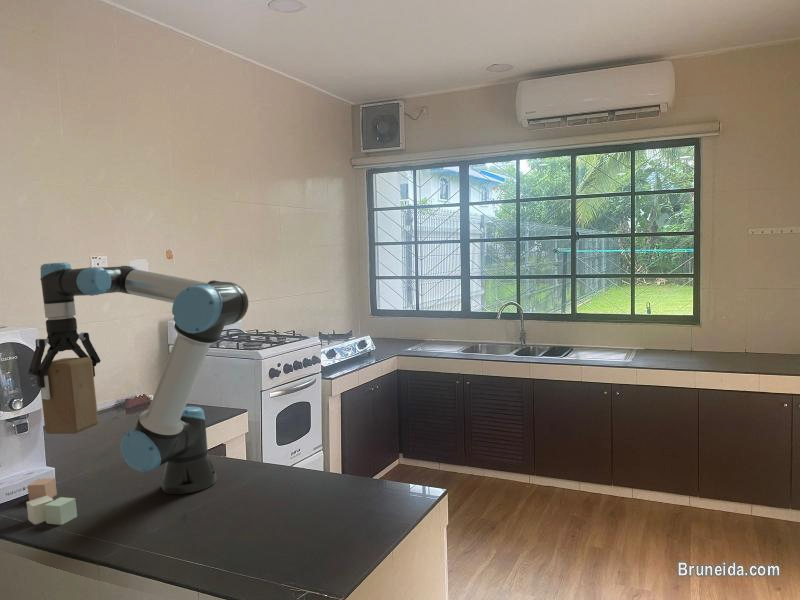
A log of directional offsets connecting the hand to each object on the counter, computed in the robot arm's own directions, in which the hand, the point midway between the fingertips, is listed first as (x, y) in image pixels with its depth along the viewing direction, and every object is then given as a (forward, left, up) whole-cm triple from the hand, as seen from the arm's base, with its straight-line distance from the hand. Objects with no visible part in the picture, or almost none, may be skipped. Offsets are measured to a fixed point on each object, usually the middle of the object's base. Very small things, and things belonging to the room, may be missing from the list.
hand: (68, 393), depth 170 cm
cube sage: (-11, +11, -30) cm, 34 cm away
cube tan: (+10, +5, -30) cm, 32 cm away
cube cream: (-5, +13, -30) cm, 33 cm away
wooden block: (0, 0, -11) cm, 11 cm away
